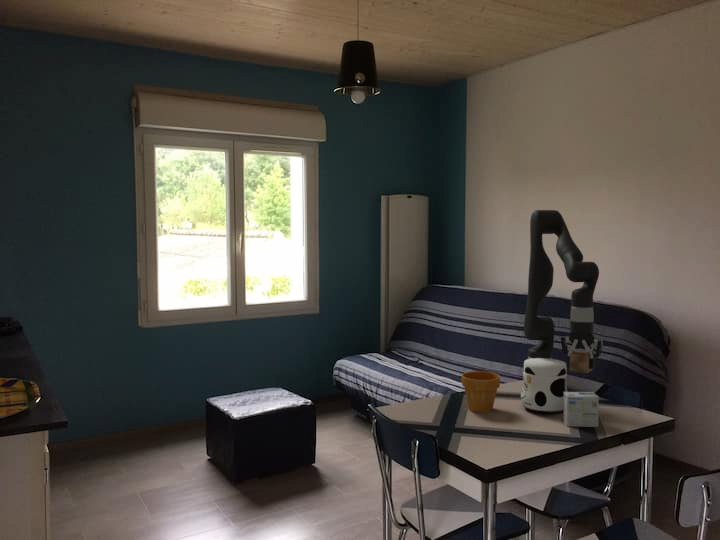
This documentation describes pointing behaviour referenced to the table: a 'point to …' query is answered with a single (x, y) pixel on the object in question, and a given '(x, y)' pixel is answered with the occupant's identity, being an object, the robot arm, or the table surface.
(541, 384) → the milk container
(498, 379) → the flower pot
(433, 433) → the table surface
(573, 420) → the light bulb box
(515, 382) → the table surface
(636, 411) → the table surface
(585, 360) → the walnut block
